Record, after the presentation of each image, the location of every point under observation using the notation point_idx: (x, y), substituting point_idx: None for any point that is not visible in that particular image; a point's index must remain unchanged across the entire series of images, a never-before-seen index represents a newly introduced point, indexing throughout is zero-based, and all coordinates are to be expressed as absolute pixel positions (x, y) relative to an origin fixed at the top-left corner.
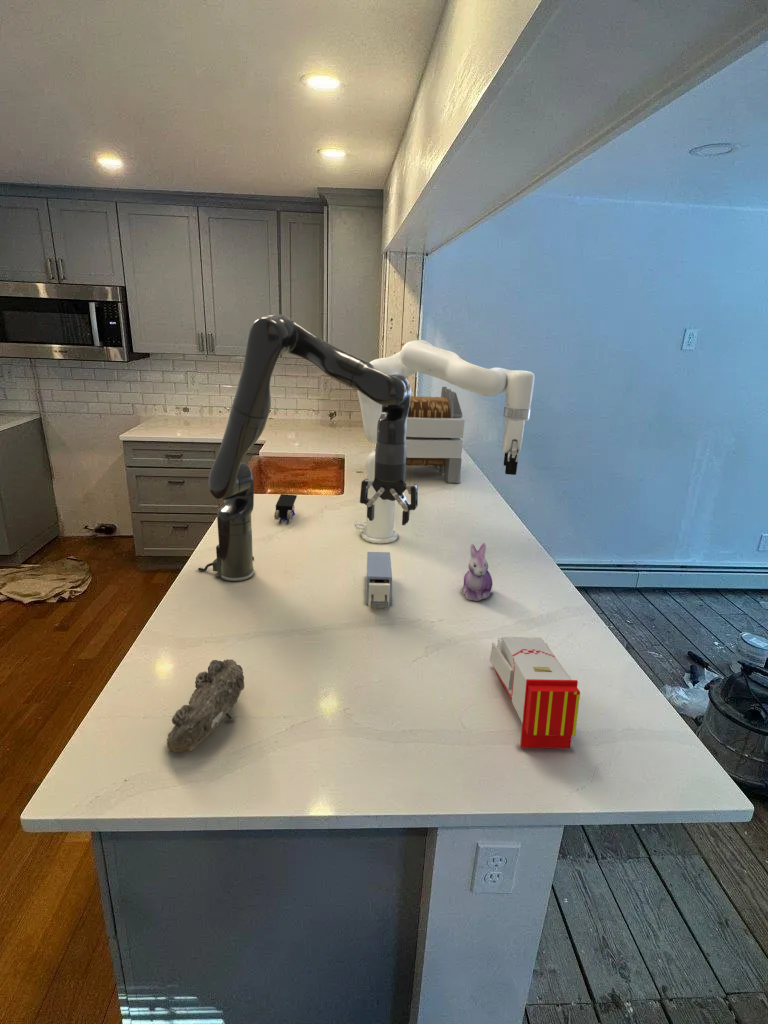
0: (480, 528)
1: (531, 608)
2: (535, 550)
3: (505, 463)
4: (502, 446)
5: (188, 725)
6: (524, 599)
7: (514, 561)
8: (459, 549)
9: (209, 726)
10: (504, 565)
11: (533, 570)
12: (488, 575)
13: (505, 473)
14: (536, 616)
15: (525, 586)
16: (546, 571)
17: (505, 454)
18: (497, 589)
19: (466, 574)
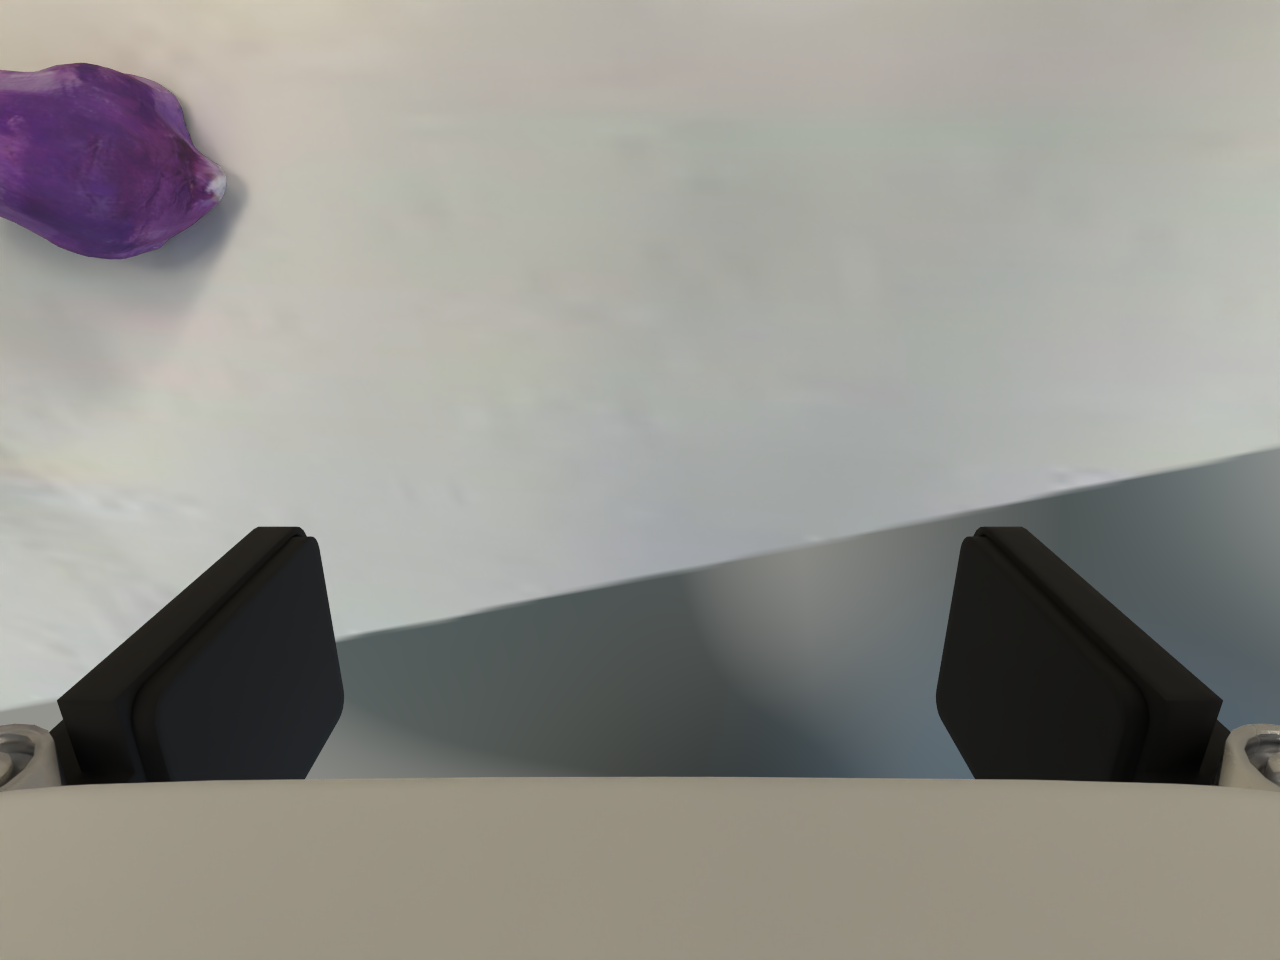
0: (1184, 201)
1: (97, 453)
2: (829, 535)
3: (979, 578)
4: (1012, 842)
5: None
6: (178, 428)
7: (641, 408)
8: (757, 36)
9: None
10: (567, 347)
11: (545, 500)
12: (43, 230)
13: (259, 530)
14: (28, 468)
15: (330, 444)
16: (552, 563)
17: (1116, 693)
18: (232, 292)
19: (35, 73)
